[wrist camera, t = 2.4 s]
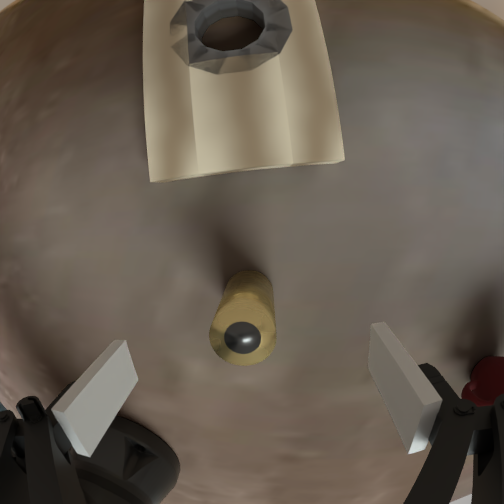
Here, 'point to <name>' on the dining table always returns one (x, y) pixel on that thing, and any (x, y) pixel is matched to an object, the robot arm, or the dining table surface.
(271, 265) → the dining table surface
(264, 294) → the cylinder with metal cap
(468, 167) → the dining table surface
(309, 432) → the dining table surface
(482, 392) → the mug
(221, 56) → the jig
